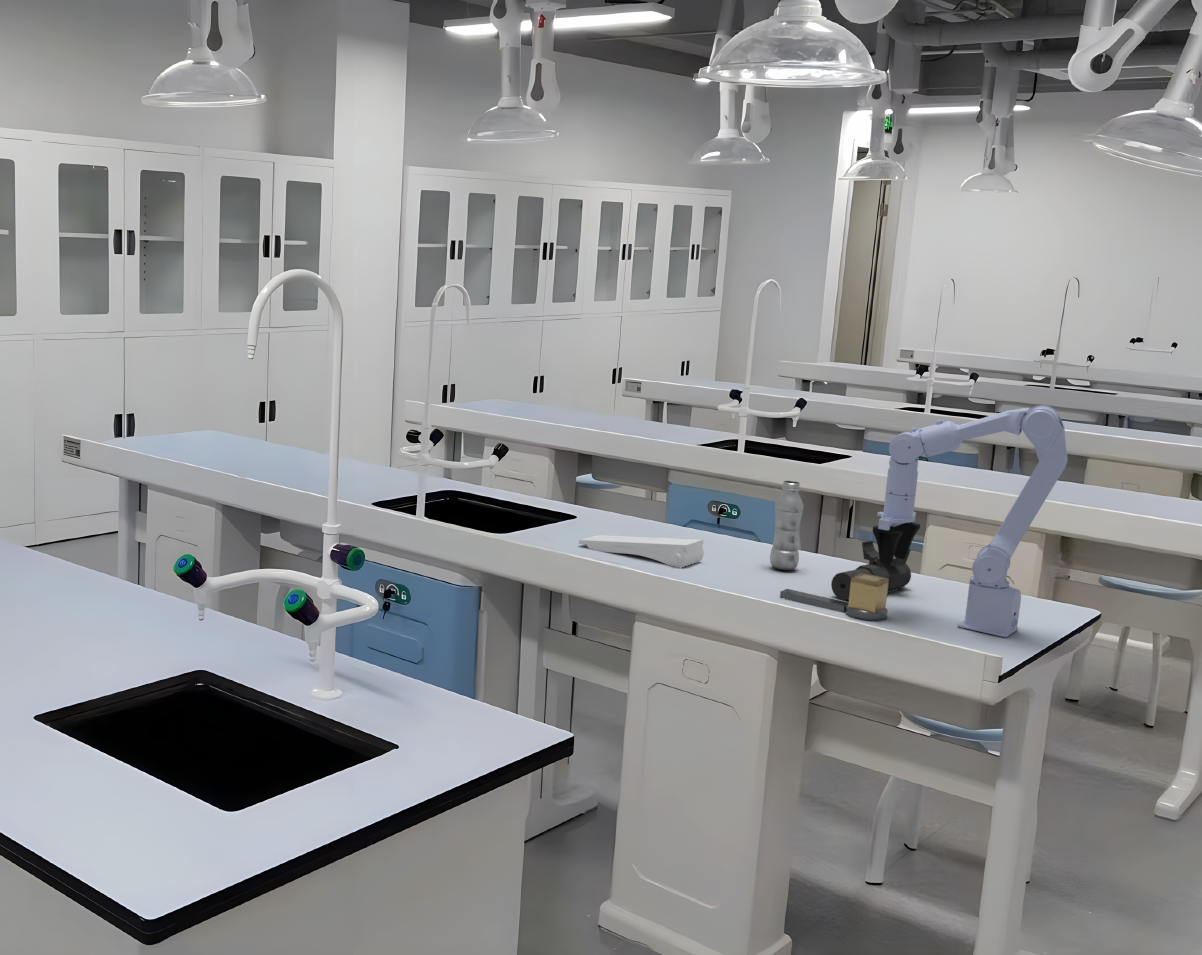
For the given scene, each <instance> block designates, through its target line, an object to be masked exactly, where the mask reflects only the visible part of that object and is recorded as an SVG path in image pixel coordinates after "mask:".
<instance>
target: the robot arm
mask: <svg viewBox="0 0 1202 955" xmlns="http://www.w3.org/2000/svg"><path fill="white" fill-rule="evenodd" d="M1059 414H1060V413H1058V411H1057V410H1056V409H1055V408H1053V407H1051V406H1050V405H1045V404H1042V405H1035V406H1034V407H1032V408H1030V407H1022V408H1015V409H1010V410H1009V409H1008V410H1005V411H1003V412H999V413H994V414H992V415H989V416H985V417H981V418H979V419H975V420H971V421H967V422H966V423H963V424H962V423H961V424H957V423H955V422H954V421H951V420H946V421H945V420H944V419H939V420H936V421H935V424H931V425H927V426H924V427H921V428H918V426H916V427H913V428H911V432H910V431H905V432H901V433H899V434H897V435H896V436H894V437H893V438H892V439H891V440H890V442H889V445H888V452H889V456H890V458H889V463H888V464H889V468H888V470H887V476H886V477H887V478H886V484H885V495H884V496H885V497H884V505H883V511H878V512H877V514H876V515H877V517H881V518H879V519H878V525H874V526H873V527H872V534H873V535H874V538H875V540H876V545H877V550H878V551H877V552H878V553H879V559H880V563H882V564H887V565H891V564H892V561H893V559H895V558H900V559H906V556H907V554H908V551H909V549H910V548H911V544H912V542H913V541H914V538H915V536H916V535H917V533H918V531H919V530H921V524H920V523H916V522H915V521H916V516H917V512H916V511H914V510H915V502H916V496H917V495H916V494H917V493H916V492H917V485H918V484H917V483H918V476H919V471H918V467H919V457H923V458H929V457H933V456H937V455H941V454H945V453H947V452H948V453H949V452H951V451H952V452H953V451H957V450H958V449H959V448H960V446H961V444H962V443H963V441H964V442H965V441H967V440H971V439H976V438H980V437H985V436H989V435H993V434H998V433H1001V432H1006V433H1010V434H1014V435H1016V436H1017V435H1018V436H1020V435H1021V433H1022V432H1023V434H1024V435H1025V437H1026V438H1027V439H1028V441H1029V442H1030V443H1031V445H1033V448H1034V451H1035V453H1036V455H1037V459H1038V463H1037V464H1036V466H1035V468H1034V470H1033V471H1032V473H1031V474H1030V476H1029V478H1028V479H1027V482H1026V483H1025V485H1024V487H1023V488H1022V490H1021V492H1020V493H1019V495H1018V497H1017V498H1016V500H1015V501H1014V503H1013V505H1012V507H1011V508H1010V510H1009V511H1008V513H1007V515H1006V516H1005V518H1004V520H1003V522H1002V523H1001V525H1000V527H999V528H998V530H997V532H996V533H995V535H994V536H993V538H992V539H991V540H990V542H989V544H987V545H986V546H984V547H982V548H981V549H980V550H979V551H978V553H977V555H976V558H975V559H974V561H973V563H972V567H971V569H972V570H971V571H972V575H973V576H970V578H969V585H968V593H967V601H966V608H965V617H964V620H962V621H960V622H959V623H957V625H956V626H957V627H958V628H962V629H966V630H971V631H976V632H981V633H985V634H989V635H994V636H999V637H1003V638H1008V637H1009V636H1010V635H1012V634H1013V633H1014V632H1016V631H1018V629H1019V627H1018V624H1019V617H1020V608H1021V602H1022V592H1021V590H1020V589H1018V588H1014V587H1012V586H1011V585H1010V581H1009V580H1008V579H1007V578H1006V577H1007V574H1008V570H1009V568H1010V566H1011V559H1012V556H1013V555H1014V553H1015V552H1016V549H1017V548H1018V546H1019V544H1020V543H1021V541H1022V539H1023V538H1024V536H1025V534H1026V533H1027V531H1028V530H1029V528H1030V526H1031V524H1032V523H1033V521H1034V520H1035V518H1036V516H1037V515H1038V513H1039V511H1040V509H1041V508H1042V506H1043V504H1044V503H1045V501H1046V500H1047V498H1048V496H1049V495H1050V494H1051V491H1052V490H1053V488H1054V486H1055V484H1056V483H1057V481H1058V480H1059V479H1060V477H1061V475H1062V473H1063V472H1064V471H1065V468H1066V467H1067V464H1068V450H1067V442H1066V429H1065V424H1064V423H1063V421H1062V418H1061V416H1060V415H1059Z"/></svg>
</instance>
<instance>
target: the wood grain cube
mask: <svg viewBox="0 0 1202 955" xmlns="http://www.w3.org/2000/svg"><path fill="white" fill-rule="evenodd" d="M888 582H889V578H884V577H879V576H874V575H869V574H865V573H861V574H859V575H856V576H854V577H851V585H850V594H849V599H848V607H849V608H853V609H858V610H862V611H866V612H871V613H877V612H879V611H881V610H883V609H885V608H886V607H887V600H888V592H887V591H888ZM886 609H887V608H886Z"/></svg>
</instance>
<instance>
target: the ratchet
mask: <svg viewBox="0 0 1202 955" xmlns="http://www.w3.org/2000/svg"><path fill="white" fill-rule="evenodd" d="M779 598H780V599H782V598H785V599H784V600H787V599H788V601H791V600H792V601H791V602H796V603H800V604H805V605H809V606H814V607H818V608H822V609H826V610H831V611H834V612H835V611H836V612H838V613H839V612H840V613H843V614H844V613H845V616H847V617H850V618H851V619H855V620H859V621H864V622H883V621H886V620H887V619H888V612H889V611H888V608H885V609H883V610H881V611H879V612H877V613H871V612H866V611H862V610H858V609H853V608H849V607H848V603H849V601H848V602H847V601H845V600H844V601H842V600H838V599H835V598H830V597H826V596H825V597H824V596H821V595H817V594H812V593H807V592H803V591H798V590H794V589H790V588H786V589H782V590H780V594H779Z"/></svg>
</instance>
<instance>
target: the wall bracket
mask: <svg viewBox="0 0 1202 955" xmlns="http://www.w3.org/2000/svg"><path fill="white" fill-rule="evenodd" d="M578 544H579V545H586V546H587V548H588V550H593V551H598V552H603V553H604V552H605V553H613V554H614V553H615V554H626V555H627V554H628V555H634V556H641V557H644V558H649V559H651V560H655V561H658V562H660V563H663V564H665V565H668V566H670V565H671V567H674V566H675V568H679V567H683V568H685V566H686V567H689V566H691V564H692V565H694V563H695V564H697V563H700V562H701V561H702V560H703V558H704V554H705V553H704V552H705V551H704V547H703V544H704V539H696V538H694V539H691V538H671V537H649V536H648V537H647V536H646V537H645V536H629V535H628V536H626V535H625V536H624V535H623V536H622V535H604V534H603V535H602V534H601V535H600V534H597V535H594V536H590V537H586V538H582V539H579V540H578ZM688 565H689V566H688Z"/></svg>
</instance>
